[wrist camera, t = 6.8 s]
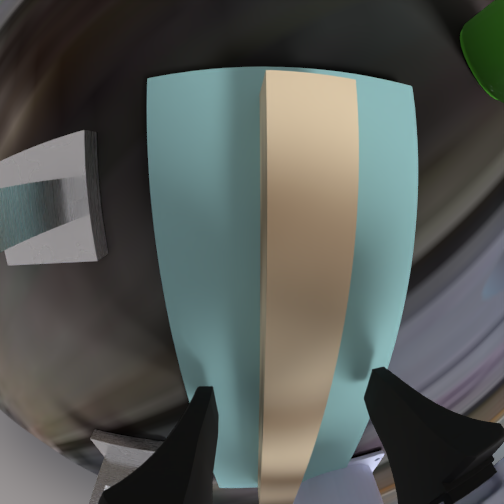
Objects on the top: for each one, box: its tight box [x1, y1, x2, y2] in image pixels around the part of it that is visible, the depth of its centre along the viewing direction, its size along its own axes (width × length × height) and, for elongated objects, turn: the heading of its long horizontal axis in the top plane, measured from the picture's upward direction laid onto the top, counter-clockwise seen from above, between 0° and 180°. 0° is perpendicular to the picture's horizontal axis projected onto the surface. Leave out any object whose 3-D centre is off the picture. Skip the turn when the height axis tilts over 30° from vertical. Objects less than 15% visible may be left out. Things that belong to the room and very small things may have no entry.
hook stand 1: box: [0, 130, 108, 265], centre depth 6 cm, size 5×6×6 cm
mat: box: [147, 67, 418, 488], centre depth 12 cm, size 26×10×1 cm, turn 2°
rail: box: [258, 70, 359, 504], centre depth 10 cm, size 24×2×2 cm, turn 1°
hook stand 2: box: [89, 429, 164, 504], centre depth 12 cm, size 5×6×6 cm
